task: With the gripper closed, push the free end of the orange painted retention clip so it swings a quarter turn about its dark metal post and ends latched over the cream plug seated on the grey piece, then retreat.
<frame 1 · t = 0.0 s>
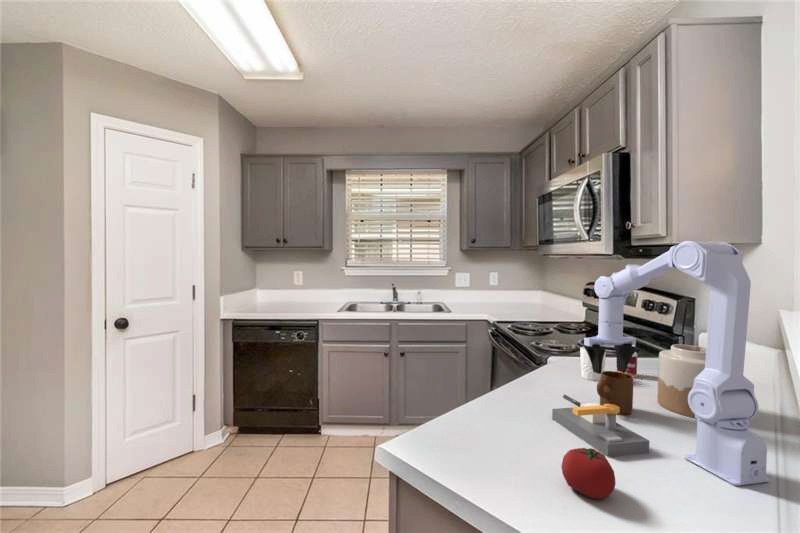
hand: (609, 372, 97), 10 cm above the counter, fingers open, 7 cm apart
plug: (593, 429, 84), resting on grey piece
grey piece: (596, 434, 82), on the counter
mug: (611, 411, 96), on the counter
tomato: (587, 492, 61), on the counter
pill bottle: (626, 375, 129), on the counter
vase: (691, 409, 99), on the counter
clip: (596, 410, 79), point 7 cm above the counter, hinge at 90.0°
white cup: (592, 378, 125), on the counter
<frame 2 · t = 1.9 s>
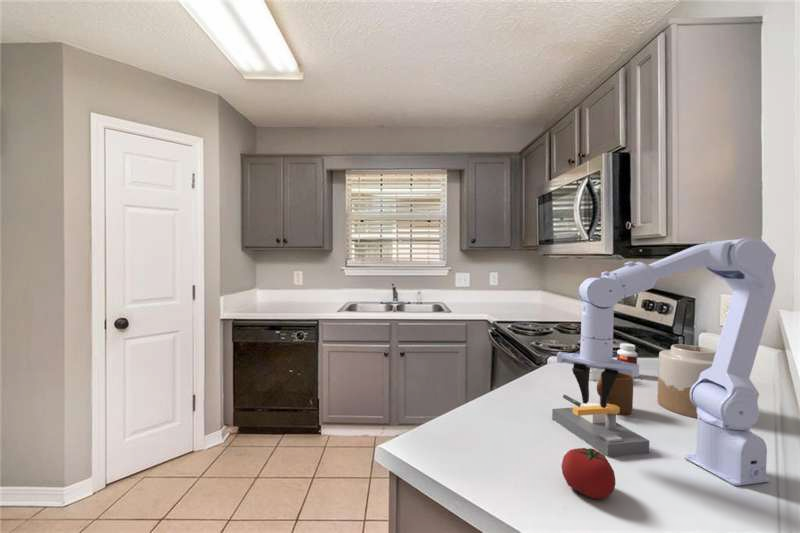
hand: (594, 404, 73), 10 cm above the counter, fingers open, 3 cm apart
nothing on the counter moved.
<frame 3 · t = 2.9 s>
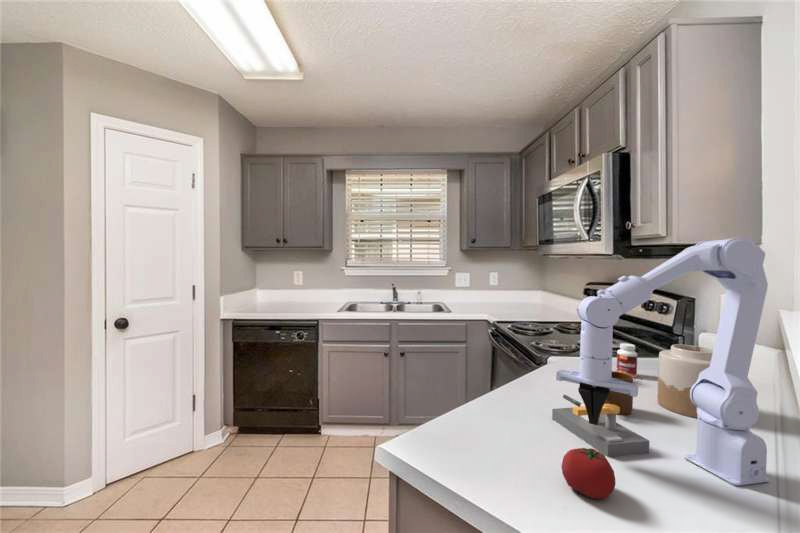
hand: (593, 422, 73), 6 cm above the counter, fingers closed
nothing on the counter moved.
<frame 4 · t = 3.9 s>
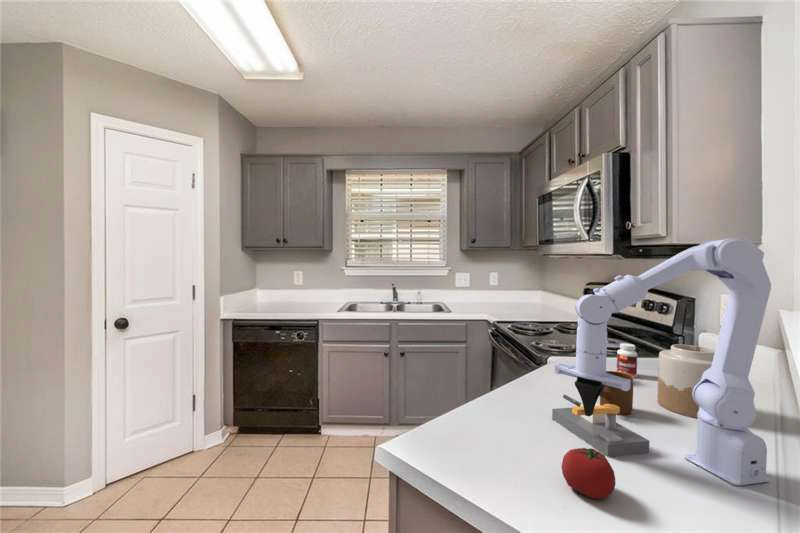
hand: (588, 414, 77), 7 cm above the counter, fingers closed, pressing on clip
clip: (596, 409, 79), point 7 cm above the counter, hinge at 88.9°, touching gripper
everything else where it was.
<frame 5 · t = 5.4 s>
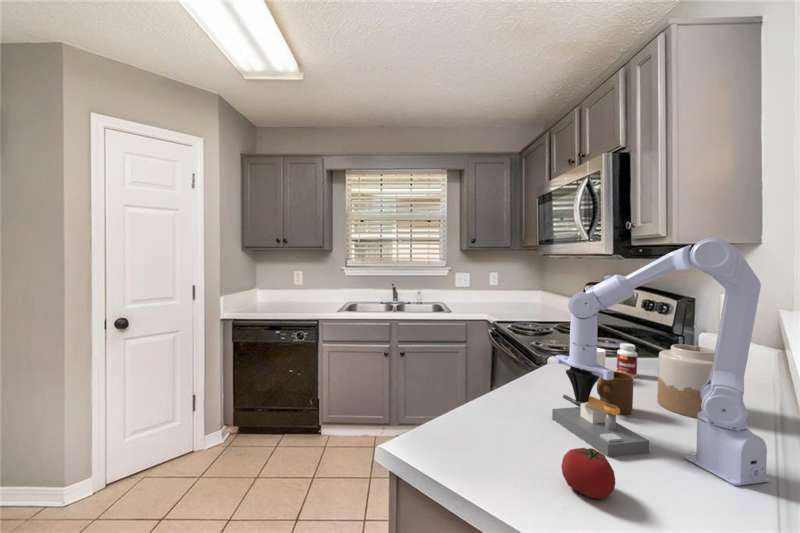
hand: (581, 401, 85), 7 cm above the counter, fingers closed, pressing on clip
clip: (596, 402, 83), point 7 cm above the counter, hinge at 6.2°, touching gripper
everything else where it was.
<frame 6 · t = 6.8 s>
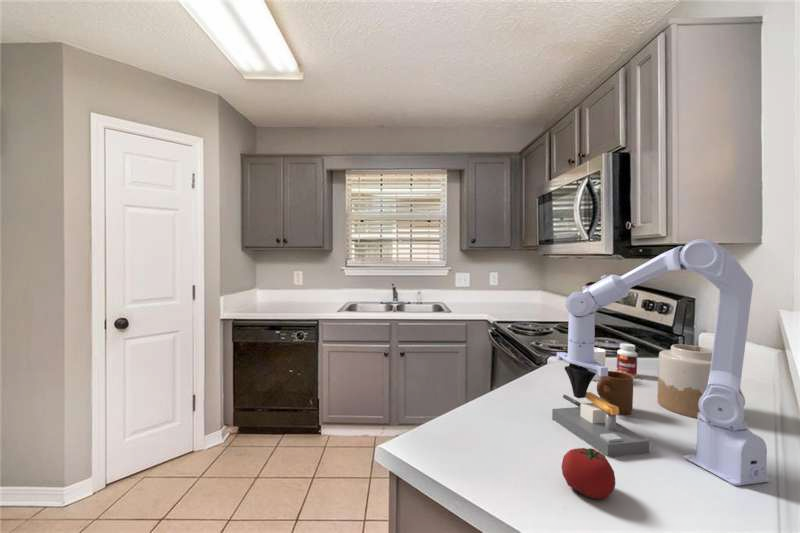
hand: (579, 397, 88), 6 cm above the counter, fingers closed
clip: (600, 402, 83), point 7 cm above the counter, hinge at -7.9°
everything else where it was.
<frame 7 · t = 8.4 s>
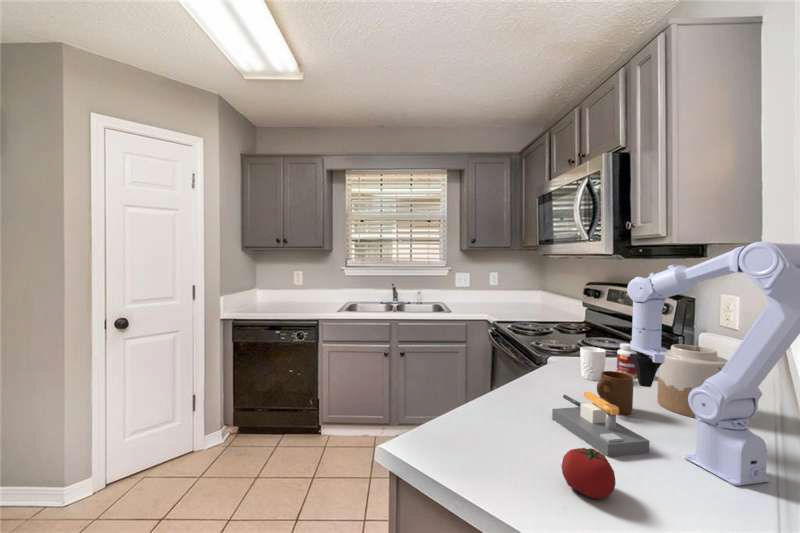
hand: (645, 385, 85), 10 cm above the counter, fingers closed
nothing on the counter moved.
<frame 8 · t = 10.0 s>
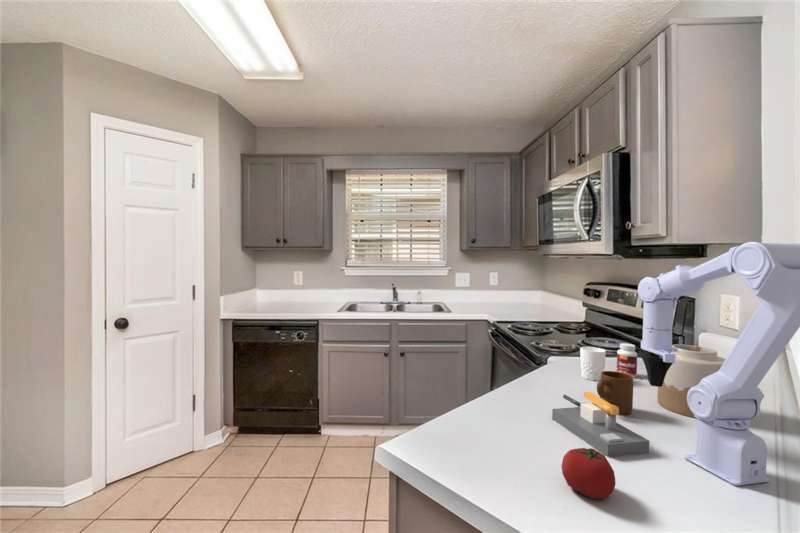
hand: (655, 385, 85), 10 cm above the counter, fingers closed
nothing on the counter moved.
at the end: clip at -8° (first picture: +90°) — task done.
